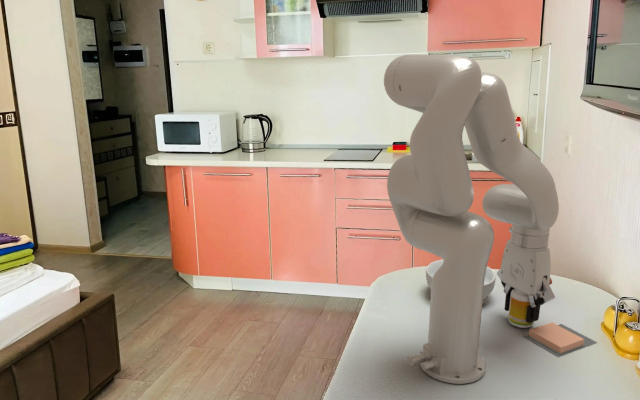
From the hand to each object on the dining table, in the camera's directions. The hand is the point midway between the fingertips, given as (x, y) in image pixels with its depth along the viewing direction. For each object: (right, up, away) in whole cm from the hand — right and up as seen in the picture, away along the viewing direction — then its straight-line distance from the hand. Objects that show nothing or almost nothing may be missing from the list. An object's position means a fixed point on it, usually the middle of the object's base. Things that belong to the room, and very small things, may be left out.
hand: (521, 314), depth 118 cm
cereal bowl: (-10, +1, +16) cm, 18 cm away
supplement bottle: (0, -2, +1) cm, 2 cm away
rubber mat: (+6, -5, -5) cm, 9 cm away
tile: (+8, -3, -5) cm, 10 cm away
